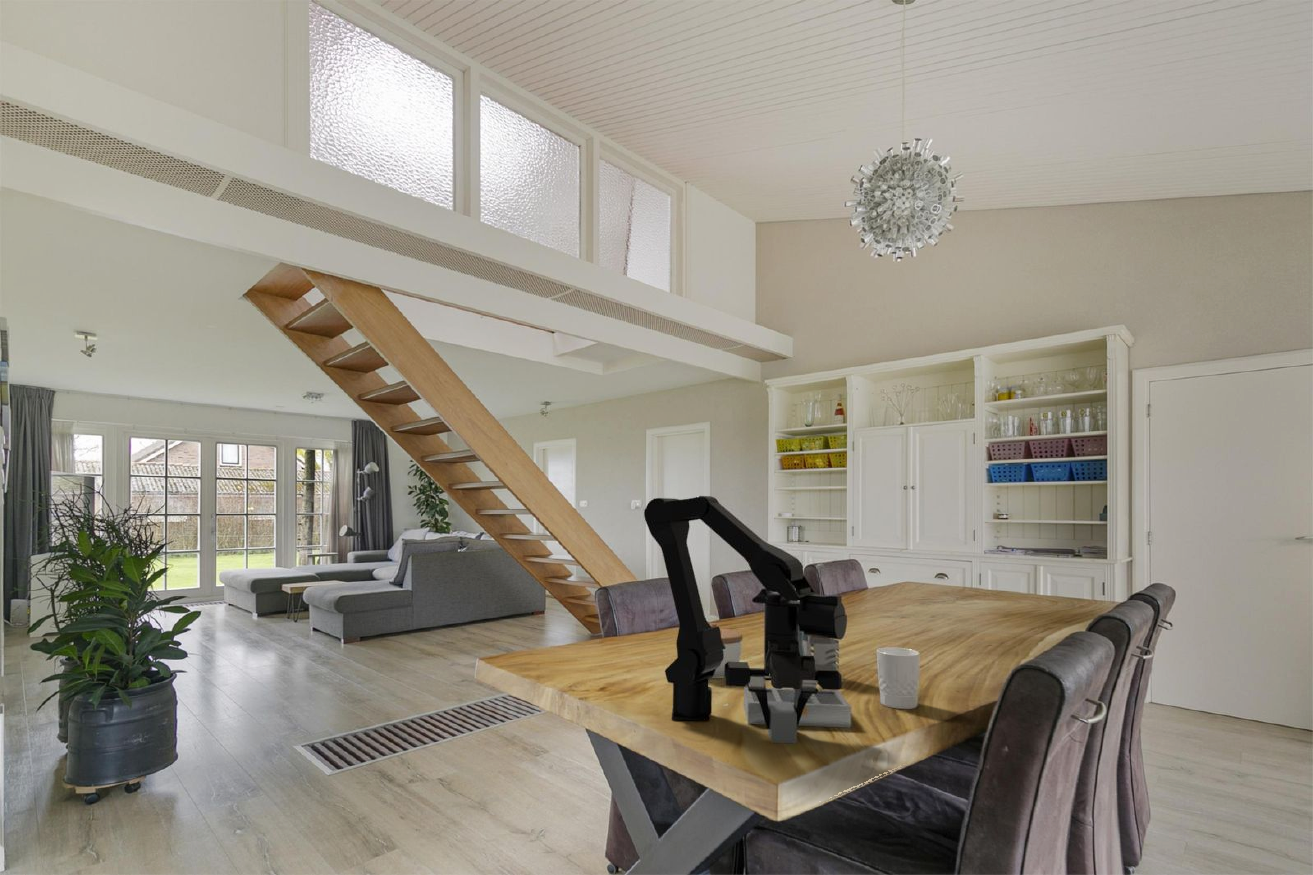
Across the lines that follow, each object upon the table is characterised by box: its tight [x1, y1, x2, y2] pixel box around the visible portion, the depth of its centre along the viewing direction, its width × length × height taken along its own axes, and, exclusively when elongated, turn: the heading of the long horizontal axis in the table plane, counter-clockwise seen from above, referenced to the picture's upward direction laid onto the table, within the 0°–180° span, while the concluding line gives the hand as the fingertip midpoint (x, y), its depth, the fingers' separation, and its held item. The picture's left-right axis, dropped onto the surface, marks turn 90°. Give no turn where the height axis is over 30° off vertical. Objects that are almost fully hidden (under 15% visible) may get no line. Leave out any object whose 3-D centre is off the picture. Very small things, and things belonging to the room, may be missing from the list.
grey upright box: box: [766, 701, 798, 744], centre depth 114 cm, size 4×7×4 cm, turn 177°
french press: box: [802, 563, 845, 683], centre depth 153 cm, size 10×12×25 cm
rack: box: [743, 686, 852, 728], centre depth 124 cm, size 18×11×4 cm, turn 87°
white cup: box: [876, 646, 921, 710], centre depth 134 cm, size 8×8×10 cm
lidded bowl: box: [710, 623, 743, 679], centre depth 155 cm, size 13×13×11 cm
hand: (781, 729), depth 114 cm, fingers closed on grey upright box, 4 cm apart
